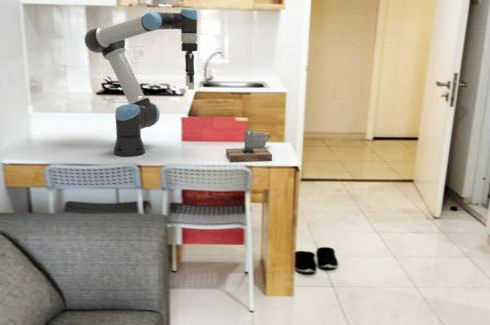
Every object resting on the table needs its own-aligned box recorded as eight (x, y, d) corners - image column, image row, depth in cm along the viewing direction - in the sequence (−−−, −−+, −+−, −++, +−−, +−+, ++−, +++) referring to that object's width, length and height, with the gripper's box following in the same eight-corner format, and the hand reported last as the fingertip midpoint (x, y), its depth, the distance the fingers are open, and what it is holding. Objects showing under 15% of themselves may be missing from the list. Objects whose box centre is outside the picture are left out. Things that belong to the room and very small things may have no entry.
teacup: (249, 151, 270) (249, 136, 268) (242, 146, 280) (242, 131, 278) (274, 149, 275) (275, 134, 272) (267, 145, 284) (267, 130, 282)
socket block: (225, 154, 262) (226, 148, 262) (265, 153, 266) (265, 147, 265) (230, 162, 249) (230, 155, 248) (271, 160, 253) (272, 154, 252)
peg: (243, 156, 259) (244, 130, 256) (251, 156, 260) (252, 130, 257) (245, 158, 255) (245, 132, 252) (253, 158, 256) (253, 132, 253)
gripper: (200, 43, 239) (200, 90, 244) (194, 41, 263) (195, 84, 268) (183, 43, 238) (184, 91, 243) (179, 41, 261) (180, 84, 267)
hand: (189, 87), depth 256 cm, fingers open, 13 cm apart
